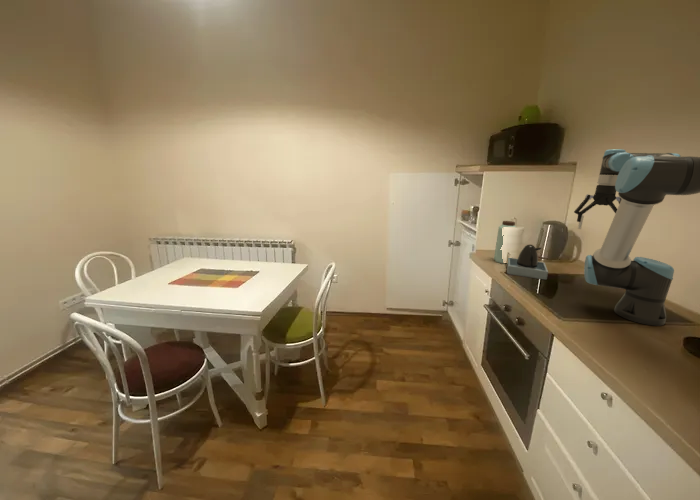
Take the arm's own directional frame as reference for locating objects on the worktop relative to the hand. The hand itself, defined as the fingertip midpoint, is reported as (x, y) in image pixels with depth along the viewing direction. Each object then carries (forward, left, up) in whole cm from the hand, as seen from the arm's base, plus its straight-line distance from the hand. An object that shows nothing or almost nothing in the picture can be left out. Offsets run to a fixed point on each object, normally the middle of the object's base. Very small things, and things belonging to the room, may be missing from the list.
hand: (596, 230), depth 148 cm
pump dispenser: (+10, +25, -28) cm, 39 cm away
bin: (+10, +25, -28) cm, 39 cm away
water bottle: (+25, +37, -29) cm, 53 cm away
